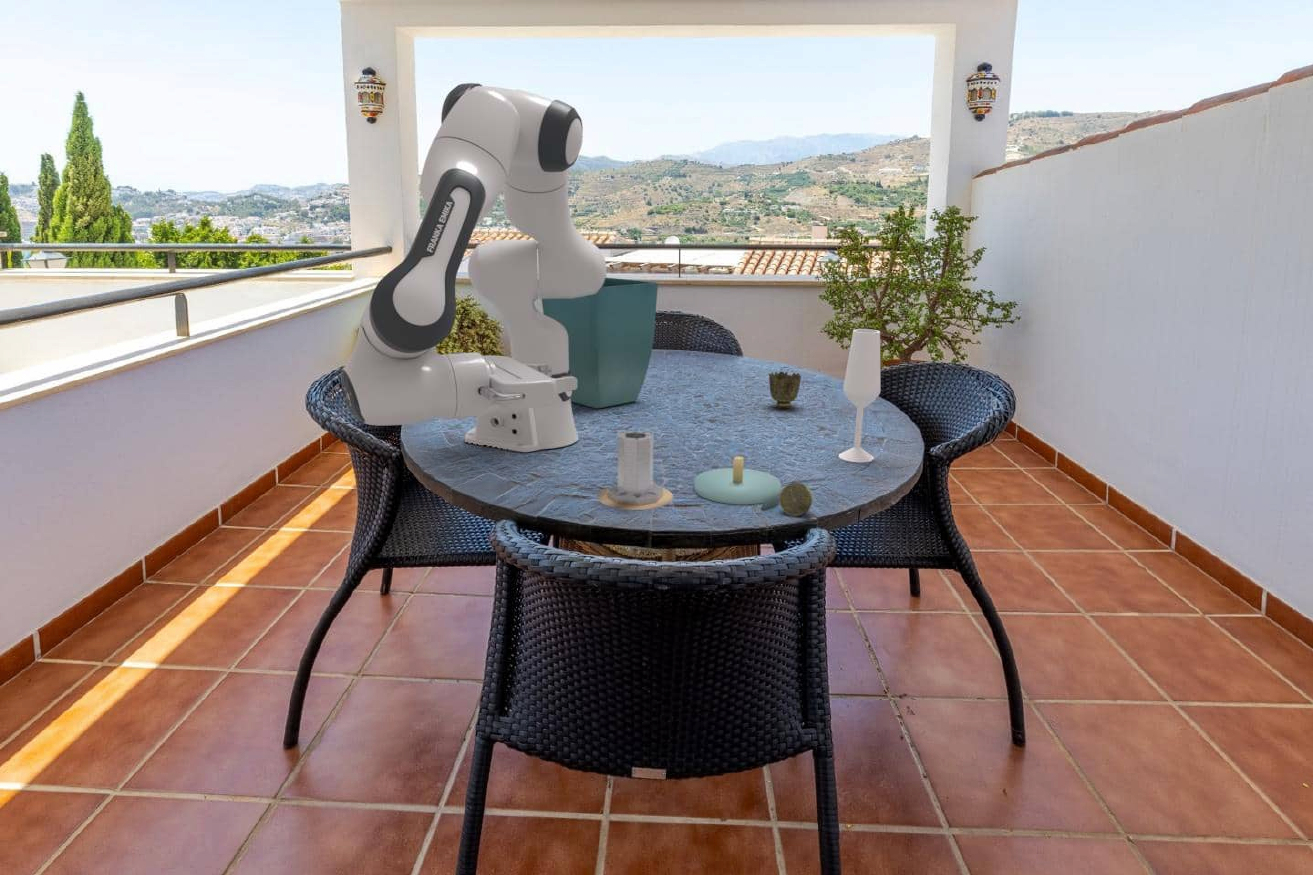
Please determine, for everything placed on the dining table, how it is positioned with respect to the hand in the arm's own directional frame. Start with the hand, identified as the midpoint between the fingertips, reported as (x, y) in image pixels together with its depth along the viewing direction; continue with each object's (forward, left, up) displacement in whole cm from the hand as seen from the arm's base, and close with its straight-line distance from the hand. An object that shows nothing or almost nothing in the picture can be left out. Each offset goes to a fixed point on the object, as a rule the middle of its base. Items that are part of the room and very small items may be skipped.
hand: (562, 376), depth 120 cm
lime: (+34, +11, -22) cm, 42 cm away
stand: (+9, +8, -22) cm, 25 cm away
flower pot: (-19, +72, -22) cm, 78 cm away
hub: (+24, +16, -22) cm, 36 cm away
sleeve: (+9, +8, -20) cm, 24 cm away
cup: (+24, +79, -22) cm, 86 cm away
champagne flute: (+42, +44, -22) cm, 65 cm away
